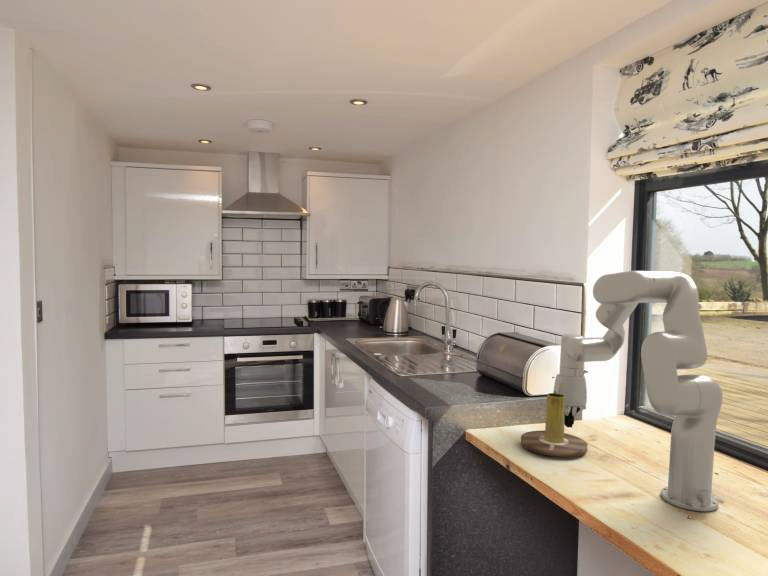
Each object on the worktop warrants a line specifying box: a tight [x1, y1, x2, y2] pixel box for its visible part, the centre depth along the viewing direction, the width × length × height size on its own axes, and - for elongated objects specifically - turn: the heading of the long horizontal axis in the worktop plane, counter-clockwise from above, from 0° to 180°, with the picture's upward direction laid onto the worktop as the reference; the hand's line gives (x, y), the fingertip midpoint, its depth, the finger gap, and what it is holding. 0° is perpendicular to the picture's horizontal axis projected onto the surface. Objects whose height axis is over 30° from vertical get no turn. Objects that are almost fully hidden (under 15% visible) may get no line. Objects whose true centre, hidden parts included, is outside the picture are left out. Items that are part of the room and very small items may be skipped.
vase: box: [544, 392, 565, 443], centre depth 173 cm, size 6×6×14 cm
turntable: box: [520, 430, 589, 458], centre depth 175 cm, size 23×20×8 cm
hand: (568, 426), depth 185 cm, fingers closed
